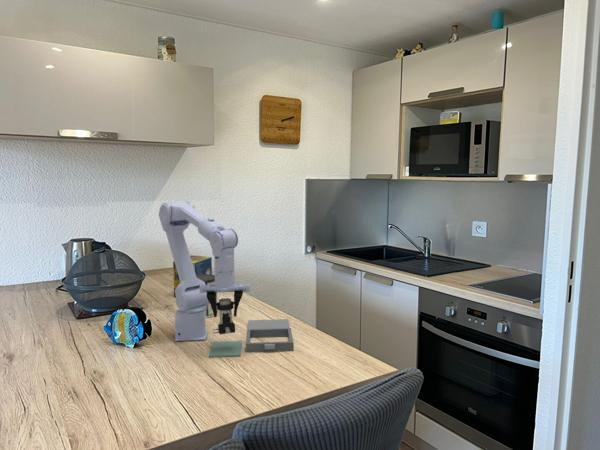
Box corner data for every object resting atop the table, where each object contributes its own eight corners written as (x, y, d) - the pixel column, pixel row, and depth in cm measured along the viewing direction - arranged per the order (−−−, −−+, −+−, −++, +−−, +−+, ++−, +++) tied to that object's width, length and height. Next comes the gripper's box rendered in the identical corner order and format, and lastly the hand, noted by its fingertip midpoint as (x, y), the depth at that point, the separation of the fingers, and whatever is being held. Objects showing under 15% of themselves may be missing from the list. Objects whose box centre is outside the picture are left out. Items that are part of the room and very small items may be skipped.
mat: (208, 357, 131) (208, 355, 131) (212, 343, 142) (212, 341, 141) (240, 356, 131) (240, 354, 131) (242, 342, 142) (241, 340, 142)
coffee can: (194, 309, 177) (193, 273, 175) (220, 310, 176) (220, 274, 174) (185, 317, 167) (184, 280, 165) (213, 318, 166) (212, 280, 164)
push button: (215, 337, 132) (213, 304, 131) (211, 331, 137) (209, 299, 136) (237, 333, 135) (236, 301, 134) (233, 328, 140) (231, 296, 139)
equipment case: (245, 353, 134) (245, 345, 133) (248, 323, 160) (248, 316, 160) (293, 351, 135) (293, 343, 135) (288, 322, 161) (288, 315, 161)
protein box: (173, 297, 194) (172, 261, 193) (192, 288, 209) (191, 255, 207) (195, 299, 191) (194, 262, 190) (212, 290, 206) (212, 256, 204)
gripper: (197, 274, 129) (198, 320, 131) (249, 273, 130) (249, 319, 132) (200, 269, 136) (201, 313, 138) (249, 268, 137) (250, 312, 139)
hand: (225, 315), depth 135 cm, fingers closed on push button, 5 cm apart
